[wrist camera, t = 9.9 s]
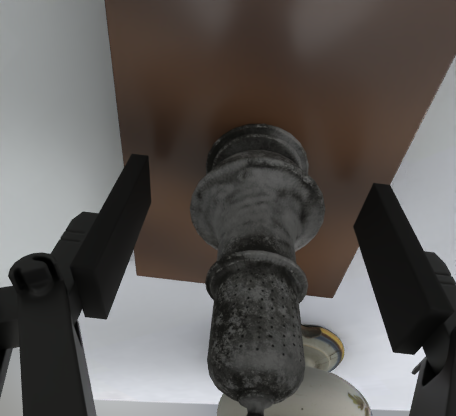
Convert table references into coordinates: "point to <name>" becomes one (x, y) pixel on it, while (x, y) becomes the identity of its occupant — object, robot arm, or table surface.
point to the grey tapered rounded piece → (257, 260)
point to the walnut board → (272, 105)
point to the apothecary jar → (314, 384)
